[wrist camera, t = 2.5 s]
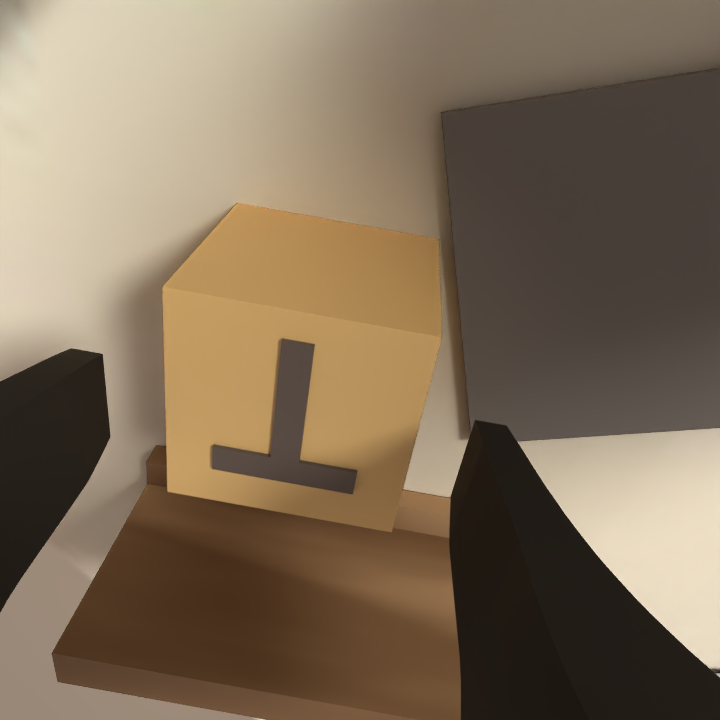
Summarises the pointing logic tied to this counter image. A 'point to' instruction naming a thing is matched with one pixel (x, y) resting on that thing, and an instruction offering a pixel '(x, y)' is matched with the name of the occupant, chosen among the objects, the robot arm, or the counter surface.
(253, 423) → the lettered cube
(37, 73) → the counter surface
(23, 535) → the robot arm
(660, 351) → the charcoal mat
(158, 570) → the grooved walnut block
